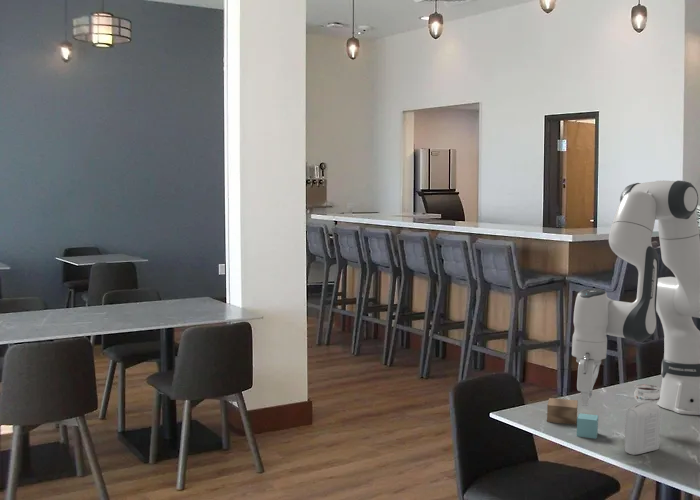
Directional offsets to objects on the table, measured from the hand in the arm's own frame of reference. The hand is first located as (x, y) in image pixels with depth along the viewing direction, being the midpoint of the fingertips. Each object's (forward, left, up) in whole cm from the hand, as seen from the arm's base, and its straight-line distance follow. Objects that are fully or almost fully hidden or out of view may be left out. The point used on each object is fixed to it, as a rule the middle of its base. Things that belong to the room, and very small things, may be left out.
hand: (586, 401), depth 212 cm
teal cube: (0, 0, -9) cm, 9 cm away
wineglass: (-15, -11, -9) cm, 21 cm away
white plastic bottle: (-14, +8, -10) cm, 19 cm away
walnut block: (+8, -12, -10) cm, 17 cm away
